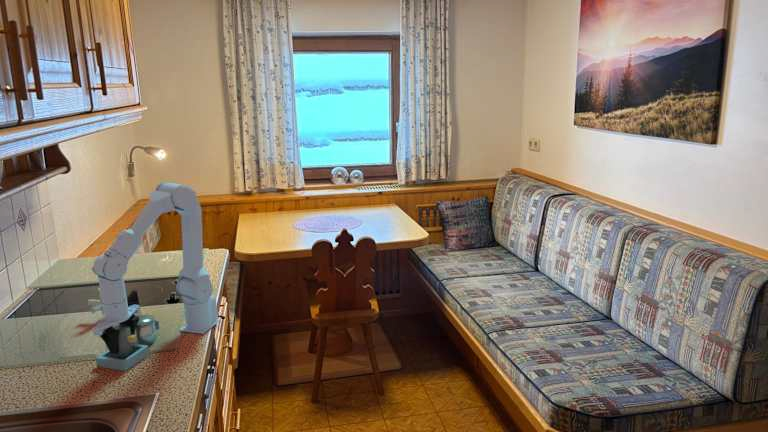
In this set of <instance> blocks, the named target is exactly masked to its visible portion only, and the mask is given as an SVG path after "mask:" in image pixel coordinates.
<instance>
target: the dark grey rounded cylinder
mask: <svg viewBox="0 0 768 432" xmlns="http://www.w3.org/2000/svg"><path fill="white" fill-rule="evenodd" d="M113 328H114V330H120V332H119V337H118V345H119V353H118V354H113V355H114V358H116V359H122V360H125V359H126V358H127V357H129V356H130V355H132V354H133V353H134V352H133V344H132V342H133V343H134V342H135V341H137V335H131V328H130V325H127V324H121V325H120V324H116V325H115V326H113Z"/></svg>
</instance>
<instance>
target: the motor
mask: <svg viewBox="0 0 768 432" xmlns="http://www.w3.org/2000/svg"><path fill="white" fill-rule="evenodd" d="M137 316H138V317H139V321H138V323H137V326H136V329H135V334H134V335H137V341H135V342H134V343H133V344H140V345H147V346H149V345H150V346H152V345H153V343H154V342H155V341H156V340H158V338H157V331H158V330H159V329H160V323H159V320H155V316H153V315H151V314H141V315H140V314H139V315H137ZM156 342H157V341H156ZM156 342H155V343H156ZM155 343H154V344H155ZM151 344H152V345H151ZM150 346H149V347H150Z"/></svg>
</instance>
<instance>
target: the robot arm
mask: <svg viewBox="0 0 768 432" xmlns="http://www.w3.org/2000/svg"><path fill="white" fill-rule="evenodd" d="M174 211H176V213H179V214H180V217H181V218H180V219H181V221H180V222H181V239H182V240H181V244H182V261H183V262H182V264H183V265H182V269H181V270H180V271H178V280H177V282H176V286H175V287H176V291H177V293H178V294H179V295H181V299H182V303H183V311H184V318H185V325H184V326H183V327H181V328H180V329H179V331H180V332H185V333H191V334H192V333H194V334H202V335H203V334H205V333H206V332H208V331H209V330H210V329H212V328H213V327H214V326H215V325H217V324H218V323H219V322H221V318H219V313H218V305H217V300H216V298H215V296H214V295H213V291H214V286H213V284H212V282H211V275H210V274H209V272H208V271H207V269H205V267H204V247H203V246H204V243H203V221H202V219H203V218H202V216H203V215H202V206H201V204H200V202H199V200H198V197H197V192H196V190H195V189H193V188H192V187H190V186H189V185H186V184H180V183H172V182H168V181H162V182H160V183H159V184H158V185H157V186H156V187H155V189H154V190H153V191H152V192H151V193H150V197H149V200H148V202H147V203H146V205H145V206H144V208H143V209H142V210H141V212H140V213H139V214H138V216H137V218H136V219H135V221H134V222H133V224H132V225H131V227H130V228H127V229H123V230H122V231H121V232H118V233H117V234H116V235H115V240H114V241H113V242H112V244H111V245H110V246H109V247H108V248H107V249H105V251H104V252H103V253H104V254H101V255H99V256H97V257H96V259H95V260H94V263H93V265H92V266H93V267H91V270H92V272H93V274H94V275H96V276H97V277H98V284H99V288H100V292H101V298H102V304H103V310H104V315H102V319H101V320H100V321H99V322H98V323H97V324H96V325H94V326H93V327H92V331H93V335H94V336H99V338H101V340H102V341H103V342H104V343H105V345H106V347H107V350H109V351H110V353H112V354H118V353H119V345H118V337H119V332H120V330H114V328H113V327H114V326H116V325H121V324H127V325H130V328H131V335H134V334H135V329H136V326H137V323H138V321H139V317H138V316H139V315H135V314H139V313H141V307H140V304H132V305H128V298H127V291H126V285H125V280H124V275H126V273H127V271H128V264H129V261H130V260H131V259H132V257H133V256H134V255H135V254H136V252H137V251H138V249H139V248H140V247H141V245H142V244H143V240H142V239H143V235H144V234H145V233H146V232H147V231H148V229H150V228H151V226H152V225H153V224H154V222H155V221H156V220H157V219H158V218H160V216H161V215H162V214H164V213H169V212H174ZM132 344H133V342H132Z"/></svg>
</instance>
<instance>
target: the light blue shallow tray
mask: <svg viewBox="0 0 768 432" xmlns="http://www.w3.org/2000/svg"><path fill="white" fill-rule="evenodd" d="M149 347H150V346H147V345H140V344H133V352H134V353H133V354H132V355H130V356H129V357H127V358H126V359H125V360H122V359H116V358H114V355H113V354H112V353H110V351H109V349H107V350H106V351H104V352H102V353H101V354H99V355H97V356H96V357H95V362H96V366H97V367H99V368H106V369H111V370H116V371H117V370H118V371H124V372H127V371H128V370H130V369H131V368H133V366H135V365H137V364H138V363H139V362H141V361H142V360H143V359H145V358H147V357H148V356H149V355H150V354H151V353H150V348H149Z"/></svg>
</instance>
